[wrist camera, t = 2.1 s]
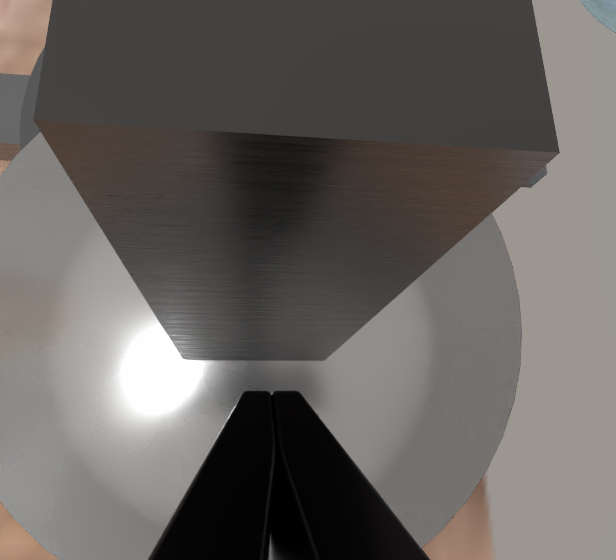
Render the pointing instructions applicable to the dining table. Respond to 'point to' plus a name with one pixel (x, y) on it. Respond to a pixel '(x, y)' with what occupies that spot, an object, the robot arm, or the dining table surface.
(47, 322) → the disc with square post
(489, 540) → the dining table surface
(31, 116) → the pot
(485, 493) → the dining table surface
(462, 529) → the dining table surface
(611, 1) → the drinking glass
